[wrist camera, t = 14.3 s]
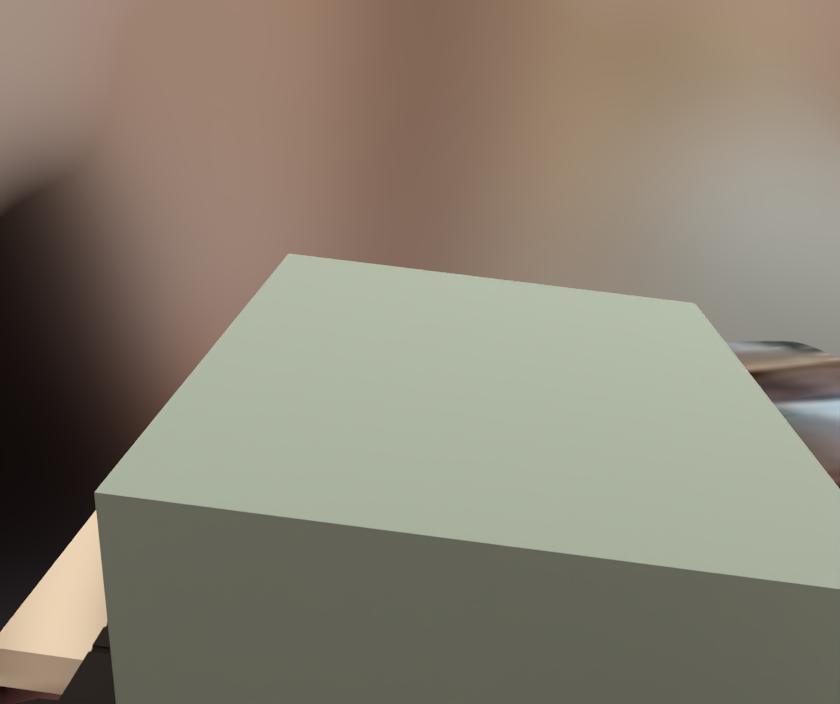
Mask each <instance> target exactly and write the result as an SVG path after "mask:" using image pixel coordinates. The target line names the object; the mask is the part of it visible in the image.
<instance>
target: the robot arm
mask: <svg viewBox="0 0 840 704" xmlns="http://www.w3.org/2000/svg"><path fill="white" fill-rule="evenodd" d="M17 704H116V700H115V690H114V680H113V670H112V660H111V650H110V641H109V631H108V621H107V625H106V627H103V629H102V630H101V632H100V634H99V635H98V637H97V639H96V640H95V642H94V643H93V645H92V650H91V652H90V651H88V653H87V655H86V656H85V658H84V660H83V661H82V663H81V664H80V666H79V668H78V669H77V671H76V673H75V674H74V676H73V677H72V679H71V681H70V682H69V684H68V686H67V687H66V689H65V690H64V692H63V694H62V695H61V697H60V699H59V700H47V699H35V700H30V701H26V702H21V703H17Z"/></svg>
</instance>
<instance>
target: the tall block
mask: <svg viewBox="0 0 840 704" xmlns="http://www.w3.org/2000/svg"><path fill="white" fill-rule="evenodd" d="M94 493H95V503H96V513H97V523H98V533H99V542H100V552H101V562H102V572H103V582H104V592H105V601H106V611H107V621H108V631H109V641H110V650H111V660H112V670H113V680H114V690H115V700H116V704H840V489H839V488H838V486H837V485H836V484H835V482H834V481H833V480H832V479H831V477H830V476H829V475H828V473H827V472H826V471H825V470H824V468H823V467H822V466H821V464H820V463H819V462H818V461H817V459H816V458H815V457H814V455H813V454H812V453H811V452H810V450H809V449H808V448H807V446H806V445H805V444H804V443H803V441H802V440H801V439H800V438H799V436H798V435H797V434H796V432H795V431H794V430H793V429H792V427H791V426H790V425H789V423H788V422H787V421H786V420H785V418H784V417H783V416H782V414H781V413H780V412H779V411H778V409H777V408H776V407H775V405H774V404H773V403H772V402H771V400H770V399H769V398H768V396H767V395H766V394H765V393H764V391H763V390H762V389H761V387H760V386H759V385H758V384H757V382H756V381H755V380H754V379H753V377H752V376H751V375H750V373H749V372H748V371H747V370H746V368H745V367H744V366H743V364H742V363H741V362H740V361H739V359H738V358H737V357H736V355H735V354H734V353H733V352H732V350H731V349H730V348H729V346H728V345H727V344H726V343H725V341H724V340H723V339H722V337H721V336H720V335H719V334H718V332H717V331H716V330H715V328H714V327H713V326H712V325H711V323H710V322H709V321H708V320H707V318H706V317H705V316H704V314H703V313H702V312H701V311H700V309H699V308H698V307H697V305H696V304H695V303H688V302H680V301H672V300H664V299H655V298H648V297H639V296H630V295H623V294H615V293H606V292H599V291H590V290H582V289H574V288H566V287H557V286H549V285H541V284H533V283H524V282H517V281H508V280H500V279H492V278H484V277H476V276H468V275H459V274H451V273H443V272H435V271H426V270H418V269H410V268H401V267H394V266H386V265H378V264H369V263H361V262H353V261H345V260H337V259H327V258H320V257H312V256H304V255H296V254H288V255H287V256H286V258H285V259H284V260H283V261H282V262H281V264H280V265H279V266H278V267H277V269H276V270H275V271H274V272H273V273H272V275H271V276H270V277H269V278H268V280H267V281H266V282H265V283H264V285H263V286H262V287H261V288H260V290H259V291H258V292H257V293H256V294H255V296H254V297H253V298H252V299H251V301H250V302H249V303H248V304H247V305H246V307H245V308H244V309H243V311H242V312H241V313H240V314H239V315H238V317H237V318H236V319H235V320H234V322H233V323H232V324H231V325H230V326H229V328H228V329H227V330H226V331H225V332H224V334H223V335H222V336H221V337H220V339H219V340H218V341H217V342H216V344H215V345H214V346H213V347H212V348H211V350H210V351H209V352H208V353H207V355H206V356H205V357H204V358H203V360H202V361H201V362H200V363H199V364H198V366H197V367H196V368H195V370H194V371H193V372H192V373H191V375H190V376H189V377H188V378H187V379H186V380H185V382H184V383H183V384H182V385H181V387H180V388H179V389H178V390H177V391H176V393H175V394H174V395H173V396H172V398H171V399H170V400H169V401H168V403H167V404H166V405H165V406H164V407H163V409H162V410H161V411H160V412H159V414H158V415H157V416H156V417H155V419H154V420H153V421H152V422H151V423H150V425H149V426H148V427H147V428H146V430H145V431H144V432H143V433H142V434H141V436H140V437H139V438H138V439H137V441H136V442H135V443H134V444H133V446H132V447H131V448H130V449H129V451H128V452H127V453H126V454H125V455H124V457H123V458H122V459H121V460H120V462H119V463H118V464H117V465H116V466H115V468H114V469H113V470H112V471H111V473H110V474H109V475H108V476H107V477H106V479H105V480H104V481H103V482H102V484H101V485H100V486H99V487H98V489H97V490H96V491H95V492H94Z"/></svg>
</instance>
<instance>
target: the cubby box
mask: <svg viewBox="0 0 840 704" xmlns="http://www.w3.org/2000/svg"><path fill="white" fill-rule="evenodd" d="M106 625H107V611H106V601H105V592H104V582H103V572H102V562H101V552H100V542H99V533H98V523H97V513H96V511H95V512H94V513H93V515H92V516H91V517H90V518H89V520H88V521H87V522H86V524H85V525H84V526H83V527H82V529H81V530H80V531H79V532H78V534H77V535H76V536H75V537H74V539H73V540H72V541H71V543H70V544H69V545H68V546H67V548H66V549H65V550H64V552H63V553H62V554H61V555H60V557H59V558H58V559H57V560H56V562H55V563H54V564H53V566H52V567H51V568H50V569H49V571H48V572H47V573H46V574H45V576H44V577H43V578H42V580H41V581H40V582H39V583H38V585H37V586H36V587H35V588H34V590H33V591H32V592H31V594H30V595H29V596H28V597H27V599H26V600H25V601H24V602H23V604H22V605H21V606H20V608H19V609H18V610H17V611H16V613H15V614H14V615H13V616H12V618H11V619H10V620H9V622H8V623H7V624H6V626H5V627H4V628H3V629H2V631H1V632H0V686H4V687H11V688H18V689H25V690H32V691H39V692H46V693H53V694H61V695H62V694H63V692H64V690H65V689H66V687H67V686H68V684H69V682H70V681H71V679H72V677H73V676H74V674H75V673H76V671H77V669H78V668H79V666H80V664H81V663H82V661H83V660H84V658H85V656H86V655H87V653H88V651H90V652H91V650H92V645H93V643H94V642H95V640H96V639H97V637H98V635H99V634H100V632H101V630H102V629H103V627H106Z"/></svg>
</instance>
